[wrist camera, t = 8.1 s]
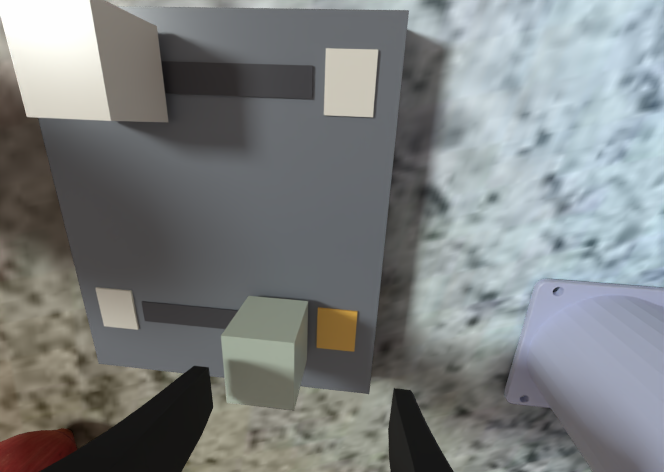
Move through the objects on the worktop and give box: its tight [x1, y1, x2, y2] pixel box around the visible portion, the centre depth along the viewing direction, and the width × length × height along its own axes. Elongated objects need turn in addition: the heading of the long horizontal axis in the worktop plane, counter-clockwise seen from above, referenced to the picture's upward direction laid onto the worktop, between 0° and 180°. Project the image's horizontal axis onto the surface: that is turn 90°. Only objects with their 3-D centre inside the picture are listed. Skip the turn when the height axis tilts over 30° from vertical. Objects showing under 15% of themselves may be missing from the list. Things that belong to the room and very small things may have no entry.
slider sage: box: [221, 296, 308, 411], centre depth 15 cm, size 3×4×3 cm
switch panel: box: [38, 6, 409, 394], centre depth 16 cm, size 16×18×2 cm
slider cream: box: [0, 0, 168, 122], centre depth 11 cm, size 3×4×3 cm
